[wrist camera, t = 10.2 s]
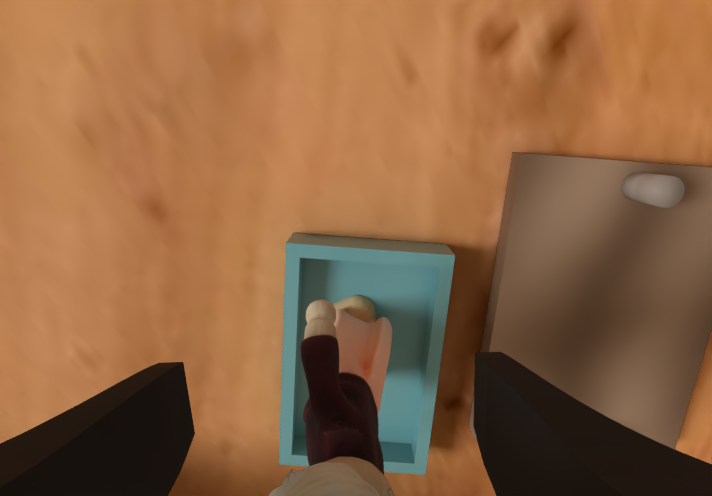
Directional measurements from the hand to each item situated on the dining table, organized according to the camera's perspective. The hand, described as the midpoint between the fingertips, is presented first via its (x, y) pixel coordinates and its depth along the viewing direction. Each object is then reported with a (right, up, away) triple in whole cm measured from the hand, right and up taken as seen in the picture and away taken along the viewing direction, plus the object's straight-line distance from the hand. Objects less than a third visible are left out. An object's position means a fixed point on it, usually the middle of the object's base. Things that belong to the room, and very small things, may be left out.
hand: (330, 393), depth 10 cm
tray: (+1, -1, +11) cm, 11 cm away
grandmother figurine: (0, 0, +10) cm, 10 cm away
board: (+12, +1, +10) cm, 16 cm away
